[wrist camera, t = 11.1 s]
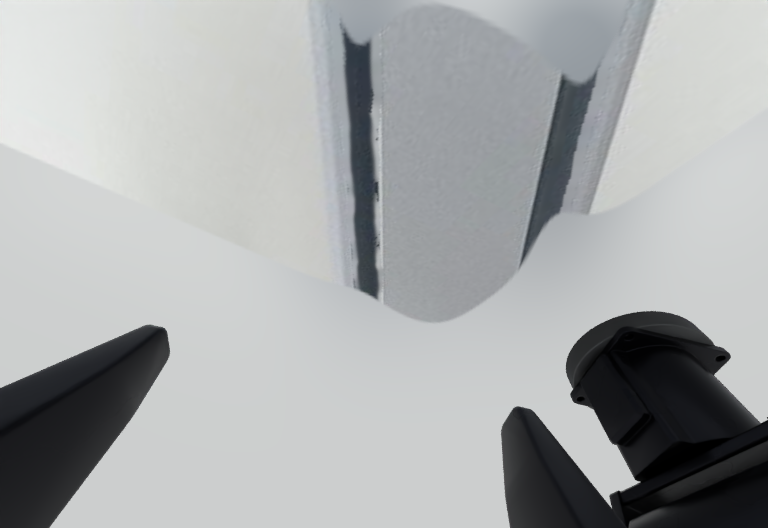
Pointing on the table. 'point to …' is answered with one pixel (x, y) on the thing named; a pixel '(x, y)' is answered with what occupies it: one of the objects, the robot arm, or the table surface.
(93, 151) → the table surface
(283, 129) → the table surface
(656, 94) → the table surface
